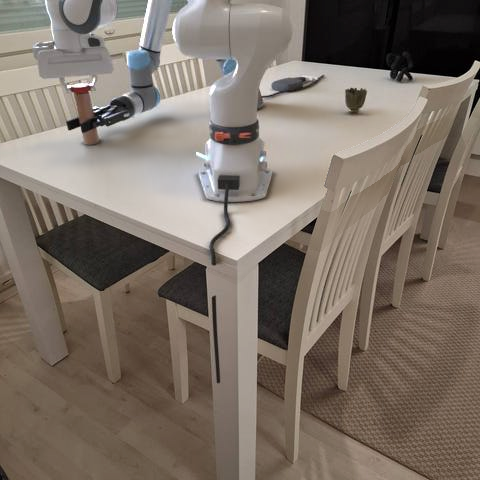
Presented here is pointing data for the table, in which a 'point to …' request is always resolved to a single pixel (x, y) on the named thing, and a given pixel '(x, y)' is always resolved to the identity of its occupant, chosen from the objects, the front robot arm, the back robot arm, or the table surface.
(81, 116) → the jar
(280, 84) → the spray bottle
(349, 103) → the olive tapered piece
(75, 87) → the lid
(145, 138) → the table surface
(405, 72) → the squiggle
